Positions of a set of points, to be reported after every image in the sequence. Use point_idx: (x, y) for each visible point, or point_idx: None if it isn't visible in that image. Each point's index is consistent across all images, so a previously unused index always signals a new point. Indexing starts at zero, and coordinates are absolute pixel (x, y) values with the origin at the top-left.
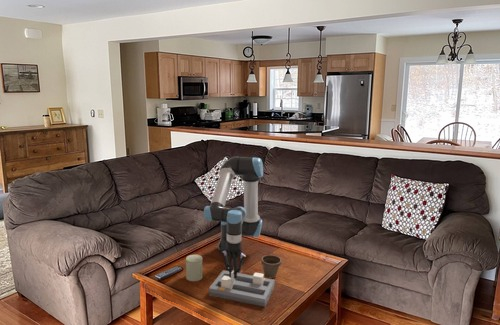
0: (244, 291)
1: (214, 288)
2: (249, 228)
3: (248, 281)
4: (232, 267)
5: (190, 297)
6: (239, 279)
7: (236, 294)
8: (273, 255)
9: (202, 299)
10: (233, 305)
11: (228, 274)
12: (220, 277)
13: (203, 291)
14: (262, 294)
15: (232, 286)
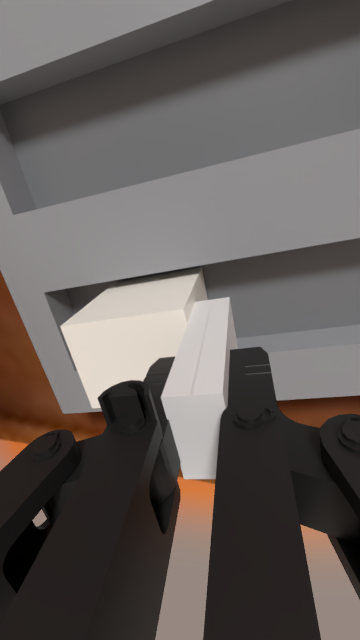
0: (341, 263)
1: None
2: None
3: (306, 5)
4: (146, 497)
5: (28, 433)
6: (171, 42)
7: (307, 392)
8: None
9: (91, 426)
10: (300, 411)
11: (15, 79)
12: (5, 216)
13: (33, 357)
14: None
15: (201, 281)
